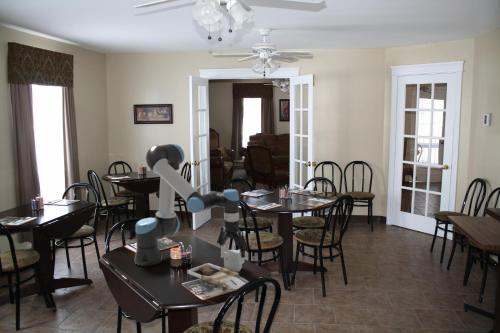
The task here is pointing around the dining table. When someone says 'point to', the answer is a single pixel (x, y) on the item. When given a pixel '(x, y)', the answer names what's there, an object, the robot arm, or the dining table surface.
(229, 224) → the robot arm
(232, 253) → the small box
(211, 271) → the chip
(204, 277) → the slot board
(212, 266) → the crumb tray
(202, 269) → the chip
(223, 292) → the dining table surface
